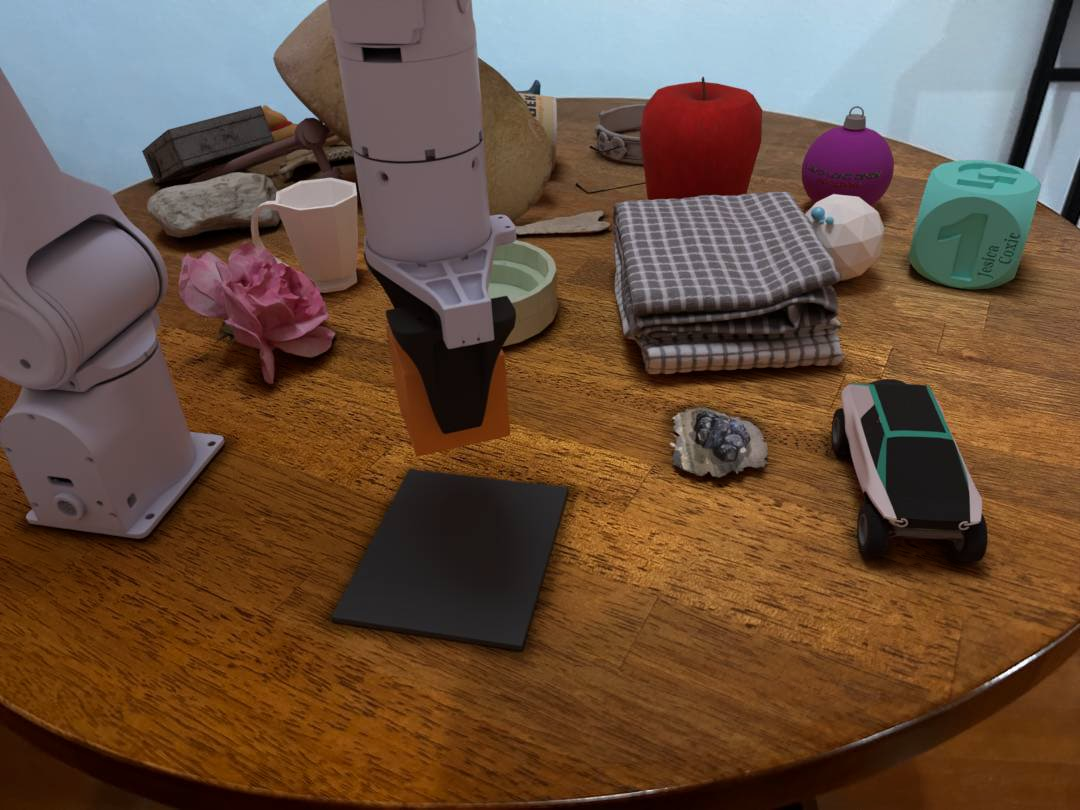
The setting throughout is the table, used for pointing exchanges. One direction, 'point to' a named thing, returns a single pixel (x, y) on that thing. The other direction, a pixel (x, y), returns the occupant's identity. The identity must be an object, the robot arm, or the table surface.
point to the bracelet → (608, 139)
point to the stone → (508, 124)
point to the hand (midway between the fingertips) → (449, 397)
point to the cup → (319, 229)
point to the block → (422, 418)
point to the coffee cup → (544, 116)
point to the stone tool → (567, 224)
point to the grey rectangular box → (207, 143)
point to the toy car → (907, 469)
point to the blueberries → (716, 443)
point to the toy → (287, 128)
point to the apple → (699, 140)
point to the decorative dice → (973, 223)
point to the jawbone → (312, 158)
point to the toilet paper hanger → (283, 152)
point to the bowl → (525, 287)
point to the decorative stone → (214, 204)
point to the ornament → (848, 232)
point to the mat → (457, 560)
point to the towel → (725, 283)
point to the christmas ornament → (848, 162)
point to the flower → (257, 303)
